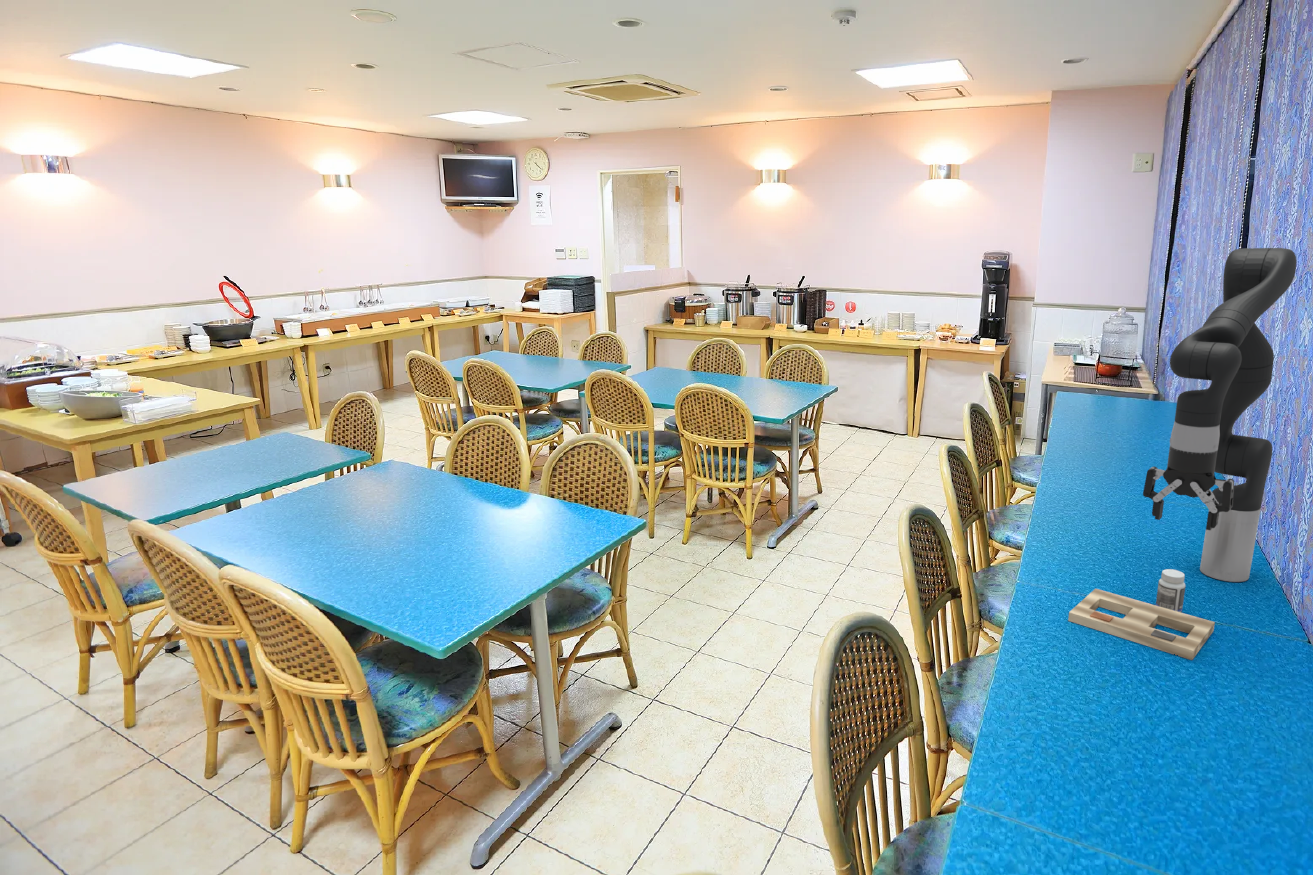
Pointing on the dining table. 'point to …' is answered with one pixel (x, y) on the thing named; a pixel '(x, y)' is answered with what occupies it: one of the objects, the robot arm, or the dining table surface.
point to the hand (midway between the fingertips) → (1183, 523)
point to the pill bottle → (1171, 590)
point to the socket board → (1143, 623)
